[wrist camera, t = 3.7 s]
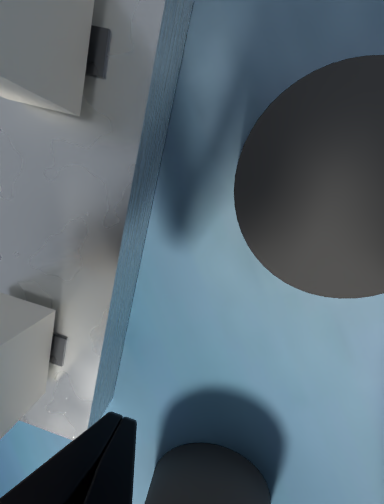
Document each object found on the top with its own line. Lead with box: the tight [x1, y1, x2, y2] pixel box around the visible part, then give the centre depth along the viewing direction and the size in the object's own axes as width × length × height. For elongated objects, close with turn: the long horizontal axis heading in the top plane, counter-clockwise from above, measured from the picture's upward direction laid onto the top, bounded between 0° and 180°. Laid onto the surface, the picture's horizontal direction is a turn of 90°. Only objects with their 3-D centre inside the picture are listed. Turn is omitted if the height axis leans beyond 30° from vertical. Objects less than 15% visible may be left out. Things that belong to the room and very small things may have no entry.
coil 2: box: [234, 55, 384, 298], centre depth 8 cm, size 6×6×3 cm
